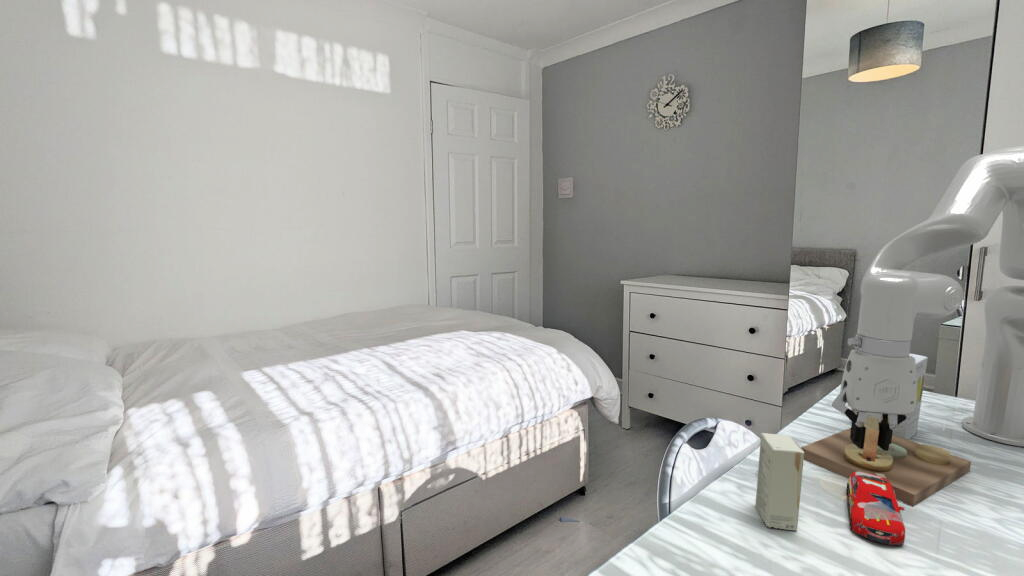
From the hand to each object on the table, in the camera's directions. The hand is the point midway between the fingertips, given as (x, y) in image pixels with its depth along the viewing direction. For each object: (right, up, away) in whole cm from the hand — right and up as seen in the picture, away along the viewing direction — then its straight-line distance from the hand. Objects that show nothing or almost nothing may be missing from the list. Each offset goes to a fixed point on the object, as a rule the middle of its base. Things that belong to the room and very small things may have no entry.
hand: (869, 445), depth 88 cm
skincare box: (-23, -7, -13) cm, 28 cm away
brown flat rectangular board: (+5, -5, +4) cm, 8 cm away
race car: (-8, -8, -12) cm, 16 cm away
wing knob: (0, -3, 0) cm, 3 cm away
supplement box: (+16, -3, +18) cm, 25 cm away
